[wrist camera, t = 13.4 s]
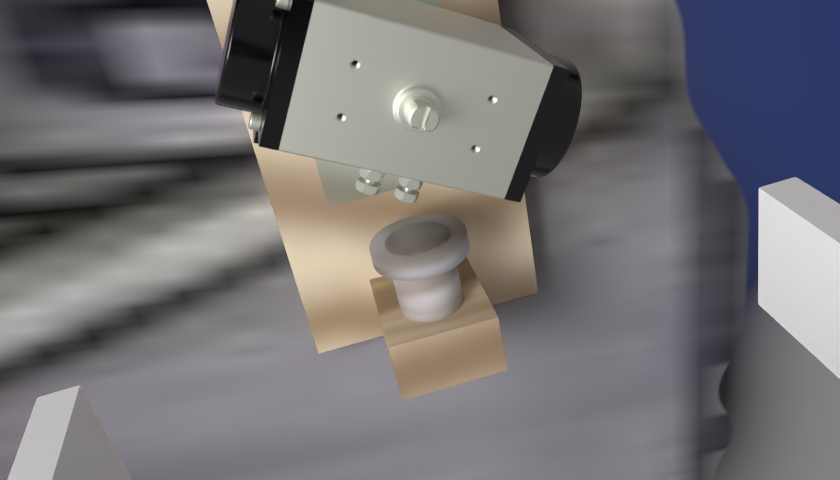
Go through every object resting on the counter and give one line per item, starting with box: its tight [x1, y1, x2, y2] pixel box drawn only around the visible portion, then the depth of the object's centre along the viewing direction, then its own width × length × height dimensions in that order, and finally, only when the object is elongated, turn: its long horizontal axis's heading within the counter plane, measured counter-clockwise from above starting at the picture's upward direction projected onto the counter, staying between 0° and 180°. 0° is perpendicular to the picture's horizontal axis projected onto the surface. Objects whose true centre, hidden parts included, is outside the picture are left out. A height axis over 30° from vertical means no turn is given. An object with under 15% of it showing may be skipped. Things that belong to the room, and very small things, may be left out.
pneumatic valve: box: [215, 0, 582, 203], centre depth 29 cm, size 6×12×12 cm, turn 73°
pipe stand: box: [207, 0, 538, 400], centre depth 32 cm, size 30×12×8 cm, turn 11°
